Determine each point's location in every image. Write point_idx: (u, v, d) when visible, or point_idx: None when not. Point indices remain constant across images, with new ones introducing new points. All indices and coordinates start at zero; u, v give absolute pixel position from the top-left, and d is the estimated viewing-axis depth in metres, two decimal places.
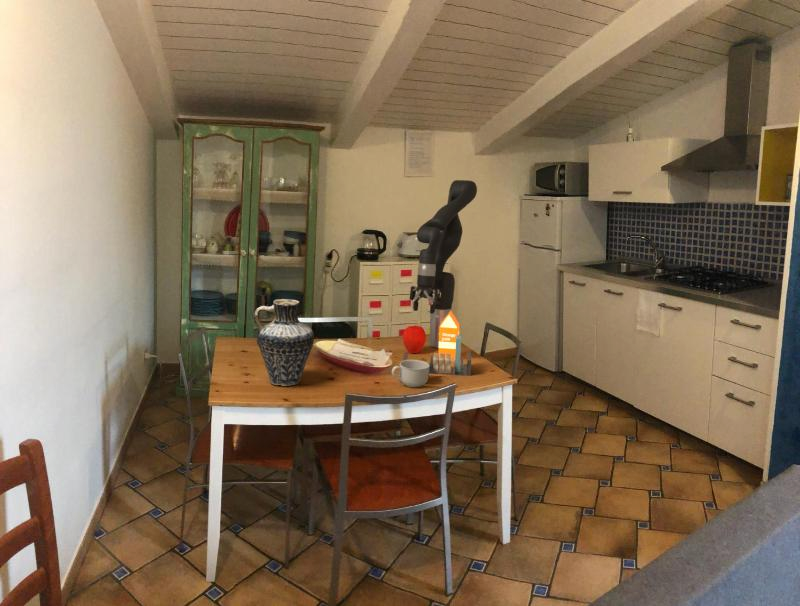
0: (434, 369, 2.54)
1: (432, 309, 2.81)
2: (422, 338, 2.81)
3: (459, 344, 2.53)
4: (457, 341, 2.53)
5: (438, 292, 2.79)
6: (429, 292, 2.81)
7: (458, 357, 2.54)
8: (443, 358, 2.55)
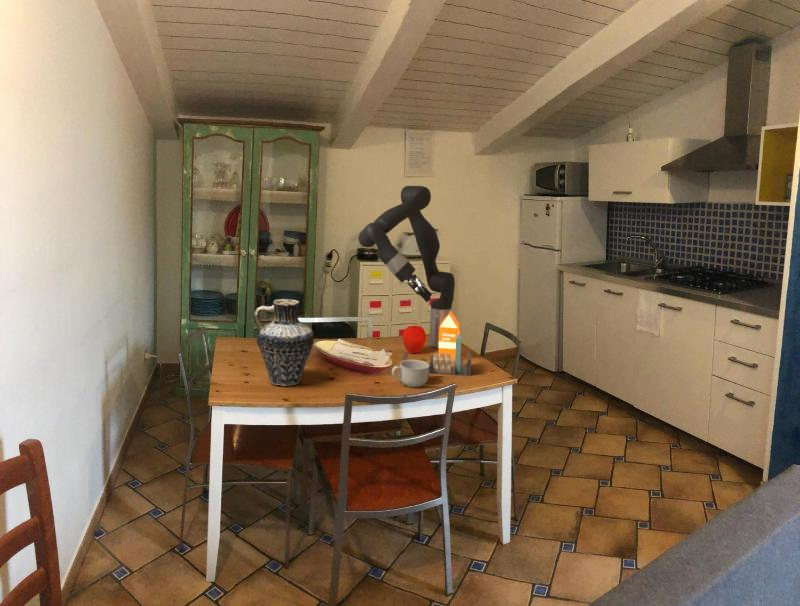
0: (434, 369, 2.54)
1: (424, 298, 2.49)
2: (422, 338, 2.81)
3: (459, 344, 2.53)
4: (457, 341, 2.53)
5: (411, 283, 2.46)
6: None
7: (458, 357, 2.54)
8: (443, 358, 2.55)
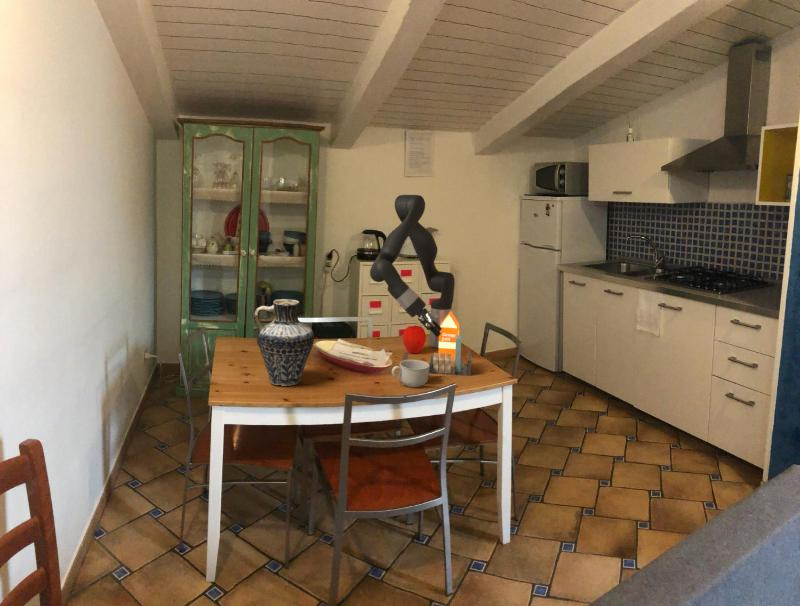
0: (434, 369, 2.54)
1: (434, 333, 2.51)
2: (422, 338, 2.81)
3: (459, 344, 2.53)
4: (457, 341, 2.53)
5: (422, 319, 2.49)
6: None
7: (458, 357, 2.54)
8: (443, 358, 2.55)
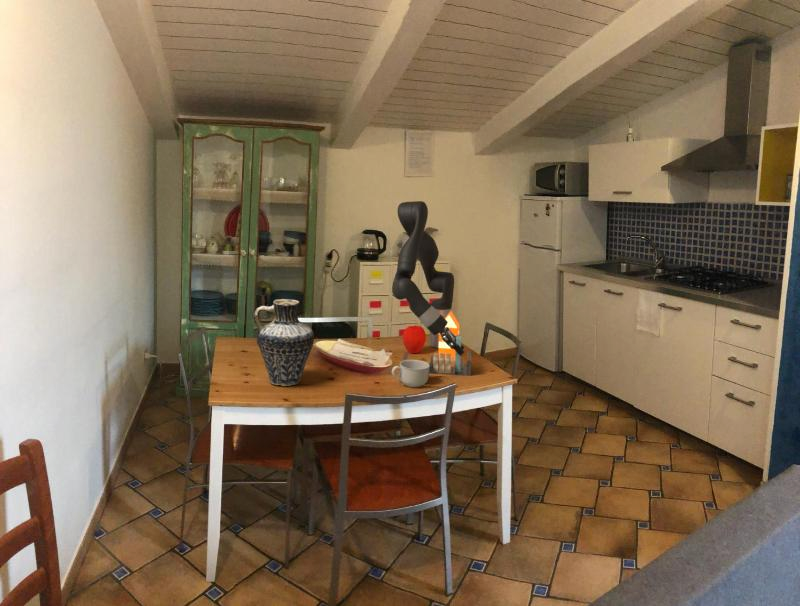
0: (434, 369, 2.54)
1: (457, 352, 2.53)
2: (422, 338, 2.81)
3: (459, 344, 2.53)
4: (457, 341, 2.53)
5: (446, 338, 2.49)
6: None
7: (458, 357, 2.54)
8: (443, 358, 2.55)
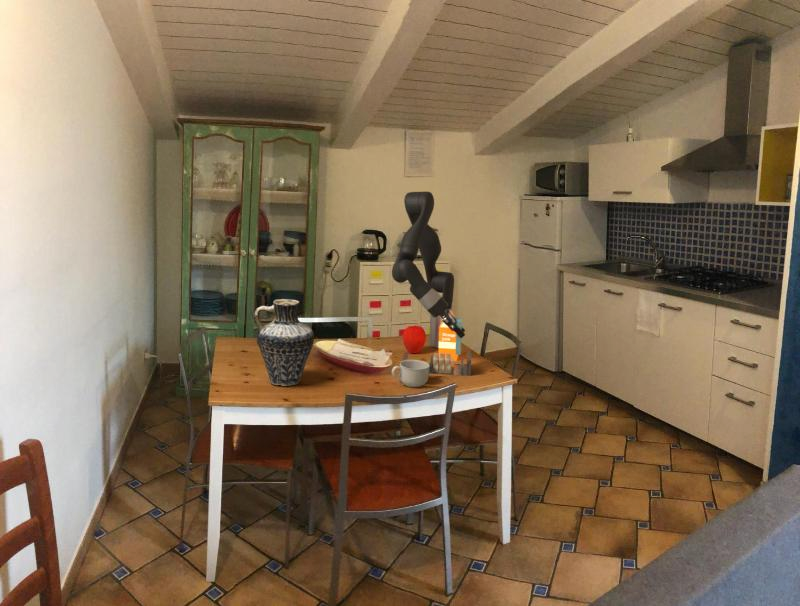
0: (434, 369, 2.54)
1: (458, 334, 2.51)
2: (422, 338, 2.81)
3: (460, 327, 2.52)
4: (458, 323, 2.52)
5: (446, 321, 2.48)
6: None
7: (459, 340, 2.53)
8: (443, 358, 2.55)
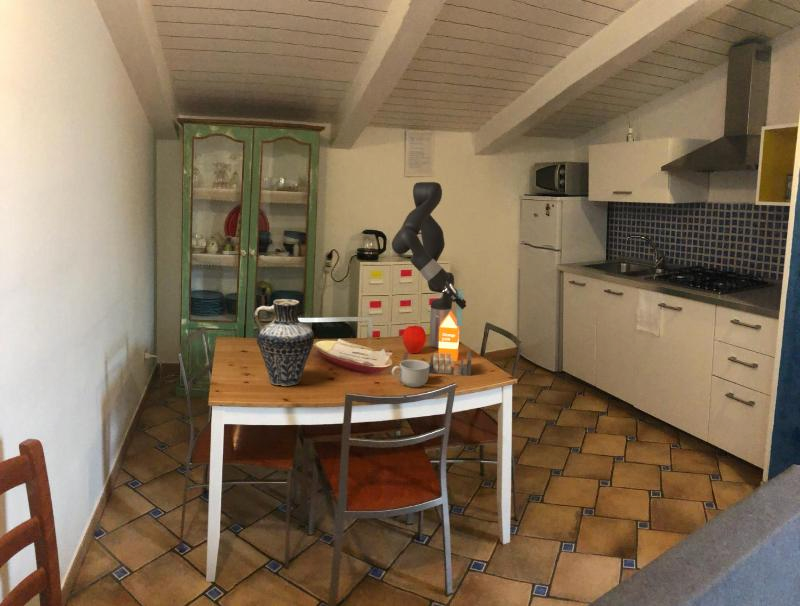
0: (434, 369, 2.54)
1: (459, 305, 2.49)
2: (422, 338, 2.81)
3: (461, 298, 2.50)
4: (459, 294, 2.49)
5: (447, 291, 2.46)
6: None
7: (460, 311, 2.51)
8: (443, 358, 2.55)
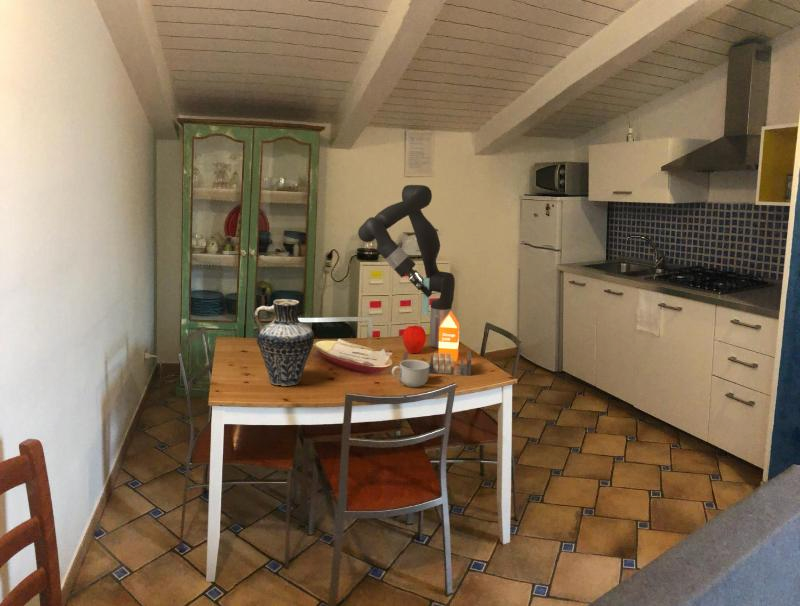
0: (434, 369, 2.54)
1: (425, 293, 2.50)
2: (422, 338, 2.81)
3: (427, 286, 2.50)
4: (425, 282, 2.50)
5: (412, 279, 2.46)
6: None
7: (426, 299, 2.51)
8: (443, 358, 2.55)
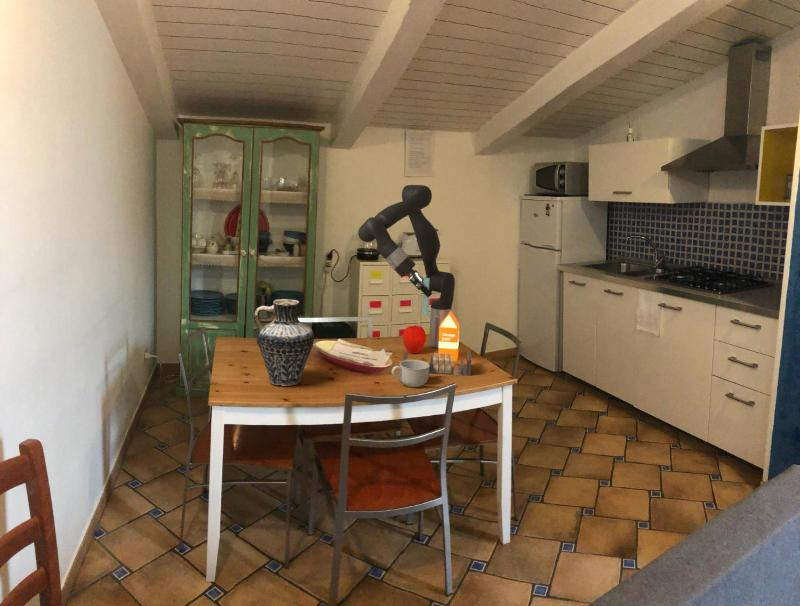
0: (434, 369, 2.54)
1: (425, 293, 2.50)
2: (422, 338, 2.81)
3: (427, 286, 2.50)
4: (425, 282, 2.50)
5: (412, 279, 2.46)
6: None
7: (426, 299, 2.51)
8: (443, 358, 2.55)
